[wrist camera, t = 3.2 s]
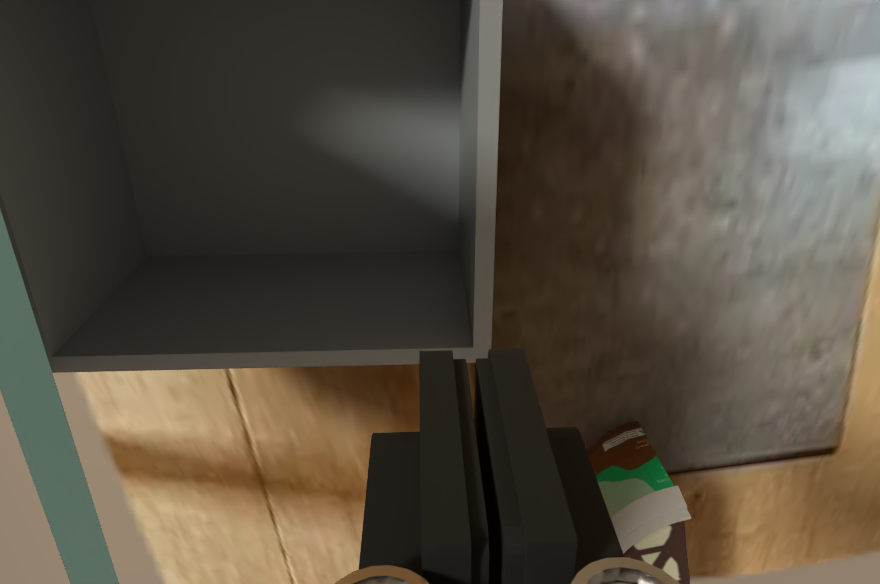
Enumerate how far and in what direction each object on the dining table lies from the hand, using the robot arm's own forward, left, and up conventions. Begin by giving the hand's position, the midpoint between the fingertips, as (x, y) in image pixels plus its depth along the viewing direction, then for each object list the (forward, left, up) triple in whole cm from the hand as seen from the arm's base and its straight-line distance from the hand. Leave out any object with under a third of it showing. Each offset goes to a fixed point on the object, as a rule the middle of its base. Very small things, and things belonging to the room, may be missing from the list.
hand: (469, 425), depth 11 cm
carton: (+8, 0, -28) cm, 29 cm away
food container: (-12, +27, -28) cm, 41 cm away
